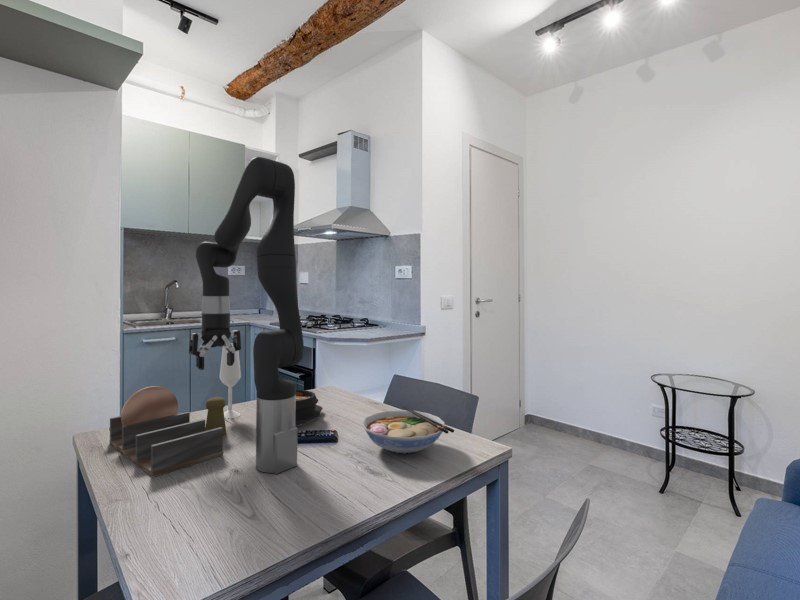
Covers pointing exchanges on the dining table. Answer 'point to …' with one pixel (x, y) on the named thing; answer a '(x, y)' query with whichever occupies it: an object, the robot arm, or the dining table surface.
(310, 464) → the dining table surface
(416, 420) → the ramen bowl
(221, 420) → the cork
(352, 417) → the dining table surface
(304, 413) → the casserole
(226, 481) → the dining table surface
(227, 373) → the champagne flute
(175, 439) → the rack
